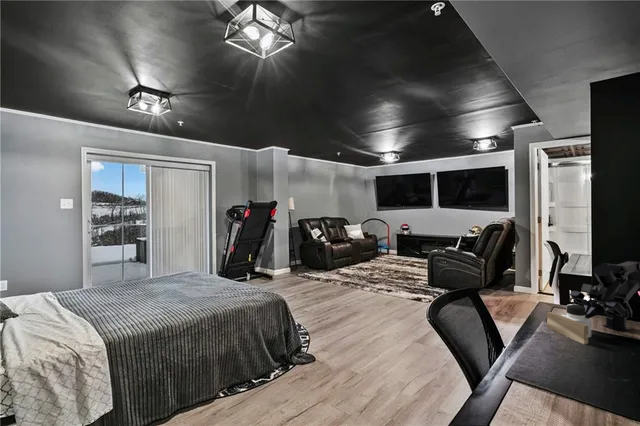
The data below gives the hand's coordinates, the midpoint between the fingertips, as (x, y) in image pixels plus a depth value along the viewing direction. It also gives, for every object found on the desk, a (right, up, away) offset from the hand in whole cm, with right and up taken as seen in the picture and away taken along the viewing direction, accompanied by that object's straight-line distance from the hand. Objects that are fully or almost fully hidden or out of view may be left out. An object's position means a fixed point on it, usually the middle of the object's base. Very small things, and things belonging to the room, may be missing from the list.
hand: (584, 318), depth 131 cm
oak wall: (-8, -7, -1) cm, 11 cm away
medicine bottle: (-4, -7, 0) cm, 8 cm away
